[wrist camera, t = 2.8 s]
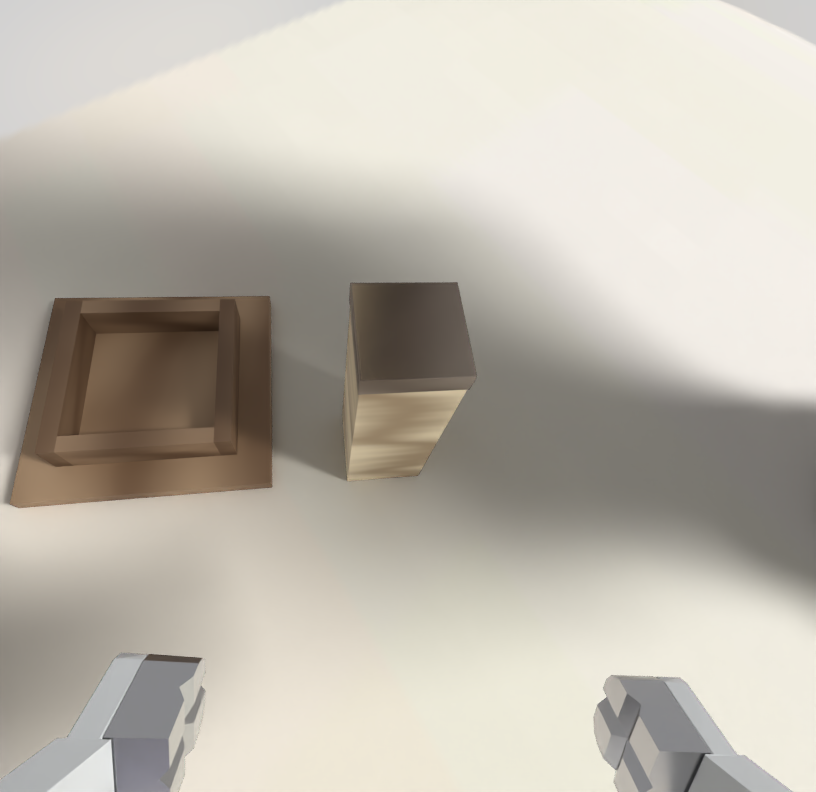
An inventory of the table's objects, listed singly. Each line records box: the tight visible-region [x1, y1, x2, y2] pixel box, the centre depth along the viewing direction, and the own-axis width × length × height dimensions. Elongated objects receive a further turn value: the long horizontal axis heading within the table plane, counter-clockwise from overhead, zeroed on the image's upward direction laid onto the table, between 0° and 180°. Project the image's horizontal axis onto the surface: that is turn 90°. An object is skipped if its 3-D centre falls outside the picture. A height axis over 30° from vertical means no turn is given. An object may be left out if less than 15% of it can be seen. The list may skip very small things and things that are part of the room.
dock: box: [10, 296, 272, 508], centre depth 26 cm, size 12×12×3 cm
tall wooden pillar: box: [342, 282, 477, 481], centre depth 23 cm, size 4×4×12 cm
